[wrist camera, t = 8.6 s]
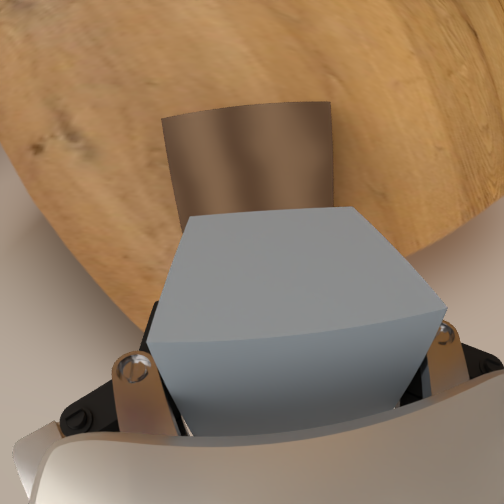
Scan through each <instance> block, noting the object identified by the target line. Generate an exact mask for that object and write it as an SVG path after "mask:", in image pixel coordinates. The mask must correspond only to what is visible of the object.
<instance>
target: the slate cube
mask: <svg viewBox="0 0 504 504" xmlns="http://www.w3.org/2000/svg"><path fill="white" fill-rule="evenodd" d="M447 308H448V307H447V306H446V305H445V304H444V303H443V301H442V300H441V299H440V298H439V297H438V295H437V294H436V293H435V292H434V291H433V290H432V288H431V287H430V286H429V285H428V284H427V282H426V281H425V280H424V279H423V278H422V277H421V276H420V275H419V273H418V272H417V271H416V270H415V269H414V268H413V267H412V266H411V265H410V264H409V262H408V261H407V260H406V259H405V258H404V257H403V256H402V255H401V254H400V253H399V252H398V251H397V250H396V249H395V248H394V247H393V246H392V245H391V244H390V243H389V242H388V241H387V240H386V238H385V237H384V236H383V235H382V234H381V233H380V232H379V231H377V230H376V229H375V228H374V227H373V226H372V225H371V224H370V223H369V222H368V221H367V220H366V219H365V218H364V217H363V216H362V215H361V214H360V213H359V212H358V211H357V210H356V209H355V208H353V207H327V208H304V209H285V210H268V211H253V212H238V213H225V214H213V215H201V216H190V217H189V220H188V222H187V225H186V227H185V230H184V233H183V235H182V238H181V240H180V243H179V246H178V249H177V251H176V254H175V257H174V259H173V262H172V265H171V268H170V271H169V273H168V276H167V279H166V282H165V285H164V288H163V291H162V294H161V297H160V300H159V303H158V306H157V309H156V312H155V315H154V318H153V322H152V325H151V328H150V331H149V335H148V338H147V341H146V343H147V345H148V348H149V350H150V352H151V355H152V357H153V359H154V361H155V363H156V366H157V368H158V370H159V372H160V374H161V376H162V378H163V380H164V382H165V384H166V386H167V388H168V390H169V392H170V394H171V396H172V398H173V400H174V402H175V404H176V406H177V408H178V410H179V411H180V413H181V415H182V417H183V419H184V420H185V422H186V424H187V426H188V427H189V429H190V431H191V432H192V434H193V436H198V437H220V436H246V435H260V434H271V433H281V432H289V431H296V430H303V429H310V428H316V427H322V426H327V425H332V424H337V423H342V422H346V421H351V420H355V419H359V418H363V417H367V416H371V415H375V414H378V413H382V412H385V411H389V410H392V409H394V407H395V406H396V404H397V403H398V401H399V400H400V398H401V397H402V395H403V394H404V392H405V390H406V389H407V387H408V385H409V384H410V382H411V380H412V379H413V377H414V375H415V374H416V372H417V370H418V368H419V366H420V365H421V363H422V361H423V359H424V357H425V355H426V353H427V351H428V350H429V348H430V346H431V344H432V342H433V340H434V337H435V335H436V333H437V331H438V329H439V327H440V325H441V322H442V320H443V318H444V315H445V313H446V311H447Z"/></svg>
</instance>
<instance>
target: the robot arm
mask: <svg viewBox="0 0 504 504" xmlns="http://www.w3.org/2000/svg"><path fill="white" fill-rule="evenodd" d="M158 303H159V301H156V302H155V303H154V306H153V309H152V311H151V314H150V317H149V320H148V324H147V327H146V330H145V333H144V336H143V339H142V342H141V346H140V349H139V351H132V352H129V353H126V354H124V355H122V356H121V357H119V358H118V360H116V362H115V363H114V365H113V367H112V380H110V381H108V382H107V383H105V384H104V385H102V386H100V387H99V388H97V389H96V390H94V391H92V392H91V393H89V394H87V395H86V396H84V397H82V398H81V399H79V400H78V401H76V402H74V403H73V404H71V405H69V406H68V407H67V408H66V409H65V410H64V411H63V413H62V414H61V417H60V422H58V423H57V422H55V421H52V422H51V423H49V424H47V425H45V426H43V427H42V428H40V429H38V430H36V431H34V432H33V433H31V434H29V435H27V436H25V437H23V438H21V439H20V440H18V441H17V442H16V443H15V445H14V447H13V459H14V462H15V465H16V468H17V471H18V474H19V476H20V479H21V481H22V484H23V486H24V489H25V491H26V494H27V496H28V498H29V504H504V366H503V364H502V362H501V361H500V360H499V359H498V358H497V357H496V356H494V355H492V354H489V353H487V352H484V351H482V350H479V349H476V348H474V347H471V346H468V345H466V344H463V343H461V342H460V338H459V335H458V332H457V330H456V329H455V327H454V326H453V325H451V324H450V323H449V322H447V321H444V320H442V322H441V325H440V327H439V329H438V331H437V333H436V335H435V337H434V340H433V342H432V344H431V346H430V348H429V350H428V351H427V353H426V355H425V357H424V359H423V361H422V363H421V365H420V366H419V368H418V370H417V372H416V374H415V375H414V377H413V379H412V380H411V382H410V384H409V385H408V387H407V389H406V390H405V392H404V394H403V395H402V397H401V398H400V400H399V401H398V403H397V404H396V406H395V409H392V410H389V411H385V412H382V413H378V414H375V415H371V416H367V417H363V418H359V419H355V420H351V421H346V422H342V423H337V424H332V425H327V426H322V427H316V428H310V429H303V430H296V431H289V432H281V433H271V434H260V435H246V436H220V437H198V436H190V435H189V433H188V430H187V427H186V425H185V422H184V419H183V417H182V415H181V413H180V411H179V410H178V408H177V406H176V404H175V402H174V400H173V398H172V396H171V394H170V392H169V390H168V388H167V386H166V384H165V382H164V380H163V378H162V376H161V374H160V372H159V370H158V368H157V366H156V363H155V361H154V359H153V357H152V355H151V352H150V350H149V348H148V345H147V343H146V341H147V338H148V335H149V331H150V328H151V325H152V322H153V318H154V315H155V312H156V309H157V306H158Z"/></svg>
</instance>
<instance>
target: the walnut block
mask: <svg viewBox="0 0 504 504" xmlns="http://www.w3.org/2000/svg"><path fill="white" fill-rule="evenodd" d="M161 121H162V127H163V134H164V140H165V146H166V152H167V158H168V163H169V169H170V174H171V180H172V185H173V190H174V195H175V200H176V205H177V210H178V214H179V219H180V224H181V228H182V233H184V230H185V227H186V225H187V222H188V220H189V217H190V216H201V215H213V214H225V213H238V212H253V211H268V210H285V209H304V208H327V207H333V142H332V121H331V105H330V102H284V103H267V104H255V105H244V106H235V107H227V108H219V109H212V110H205V111H199V112H193V113H188V114H182V115H177V116H172V117H167V118H162V119H161Z"/></svg>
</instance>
